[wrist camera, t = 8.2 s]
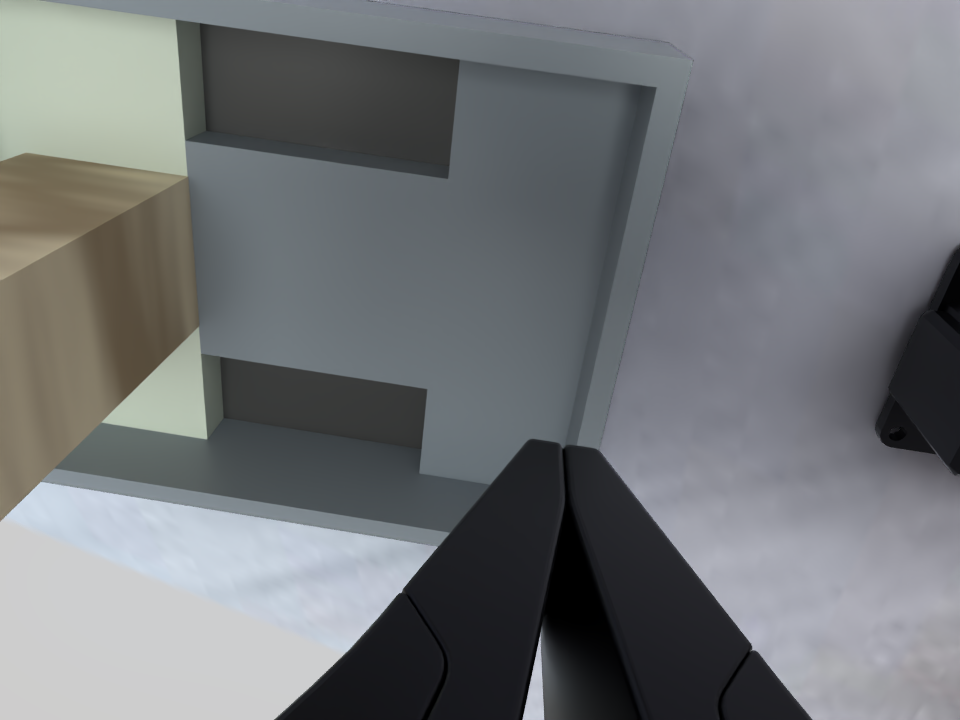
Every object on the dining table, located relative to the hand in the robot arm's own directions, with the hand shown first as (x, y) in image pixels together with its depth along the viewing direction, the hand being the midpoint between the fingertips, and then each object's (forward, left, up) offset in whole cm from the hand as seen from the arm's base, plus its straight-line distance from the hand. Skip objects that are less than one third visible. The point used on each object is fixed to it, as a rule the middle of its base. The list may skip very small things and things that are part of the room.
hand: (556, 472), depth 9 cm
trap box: (+7, +3, -13) cm, 15 cm away
